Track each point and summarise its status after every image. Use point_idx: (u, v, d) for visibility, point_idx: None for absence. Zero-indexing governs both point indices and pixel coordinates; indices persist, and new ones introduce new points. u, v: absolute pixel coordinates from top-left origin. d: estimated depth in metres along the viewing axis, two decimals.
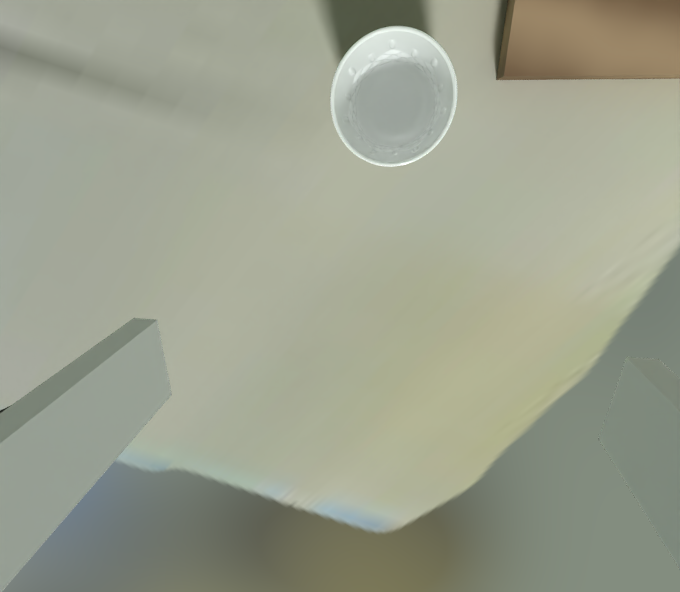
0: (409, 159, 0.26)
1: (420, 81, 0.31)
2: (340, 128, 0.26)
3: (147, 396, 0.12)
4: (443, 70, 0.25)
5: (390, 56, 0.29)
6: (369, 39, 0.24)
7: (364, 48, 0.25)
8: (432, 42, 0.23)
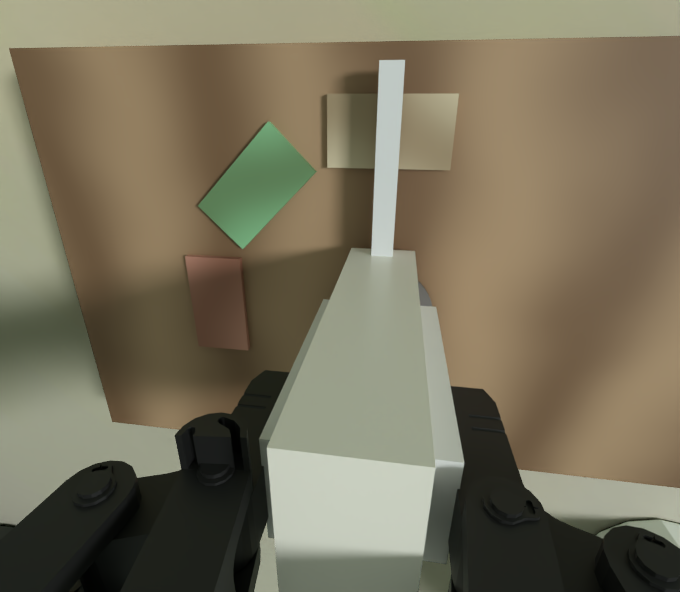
0: None
1: None
2: None
3: None
4: None
5: None
6: None
7: None
8: None
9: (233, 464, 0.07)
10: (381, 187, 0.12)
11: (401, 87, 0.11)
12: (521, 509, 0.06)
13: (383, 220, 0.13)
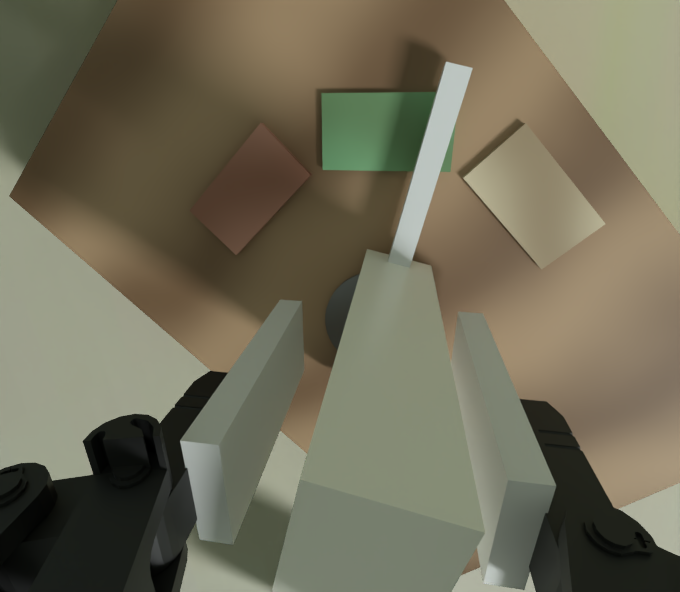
0: None
1: None
2: None
3: (296, 369, 0.13)
4: None
5: None
6: None
7: None
8: None
9: (149, 464, 0.07)
10: (415, 195, 0.12)
11: (461, 96, 0.10)
12: (630, 541, 0.06)
13: (409, 229, 0.12)
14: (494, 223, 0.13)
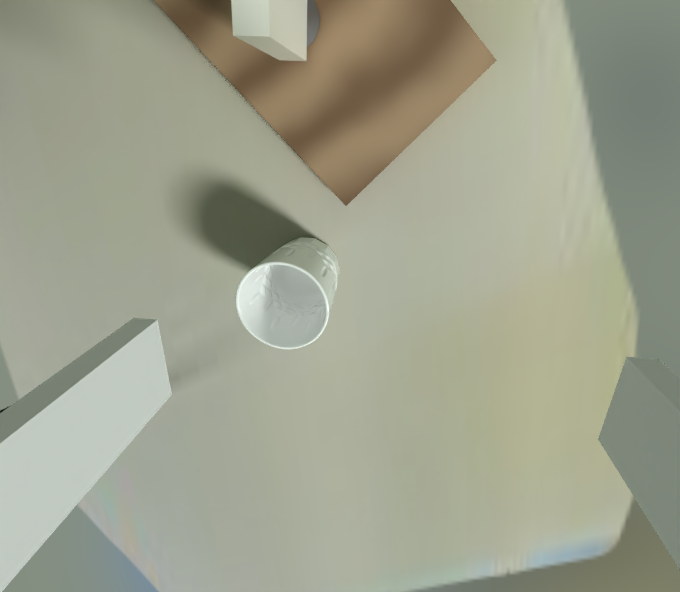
0: (322, 326, 0.33)
1: None
2: (271, 342, 0.34)
3: (147, 396, 0.12)
4: None
5: None
6: (241, 289, 0.33)
7: (245, 290, 0.34)
8: (271, 264, 0.31)
9: None
10: None
11: None
12: None
13: None
14: None
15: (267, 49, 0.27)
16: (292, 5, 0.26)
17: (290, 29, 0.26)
